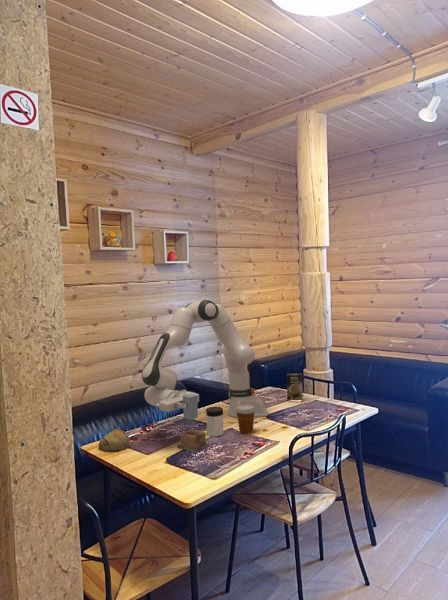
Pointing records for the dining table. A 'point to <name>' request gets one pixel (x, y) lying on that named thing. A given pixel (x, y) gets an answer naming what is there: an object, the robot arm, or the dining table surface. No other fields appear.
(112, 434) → the olive brown rounded lump
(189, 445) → the plinth
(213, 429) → the jar
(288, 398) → the coffee box
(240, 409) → the disposable coffee cup
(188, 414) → the pillar
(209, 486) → the dining table surface
